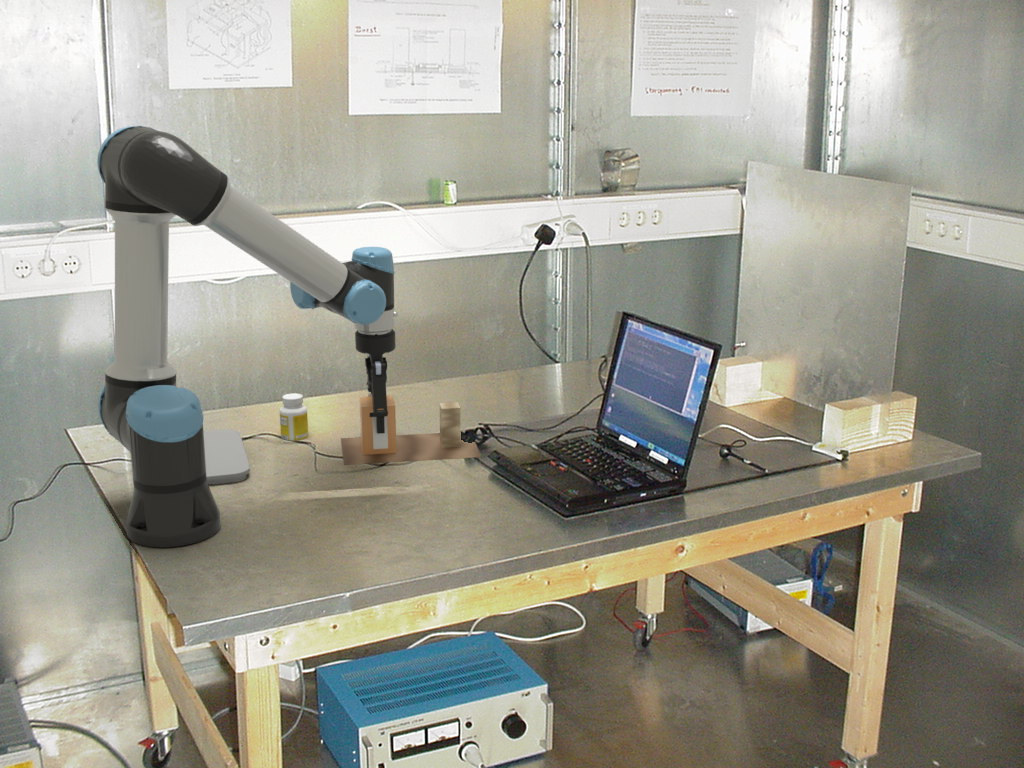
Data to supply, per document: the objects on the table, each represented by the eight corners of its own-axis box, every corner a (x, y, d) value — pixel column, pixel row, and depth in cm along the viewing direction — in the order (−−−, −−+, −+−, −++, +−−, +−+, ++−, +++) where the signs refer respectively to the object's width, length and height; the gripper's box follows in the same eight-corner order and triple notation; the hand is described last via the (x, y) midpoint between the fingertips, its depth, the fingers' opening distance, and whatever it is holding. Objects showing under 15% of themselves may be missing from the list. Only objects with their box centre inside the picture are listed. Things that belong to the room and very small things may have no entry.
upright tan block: (362, 454, 235) (361, 407, 232) (361, 443, 241) (359, 396, 238) (396, 452, 236) (395, 405, 233) (393, 441, 242) (392, 395, 239)
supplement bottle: (311, 438, 248) (309, 392, 245) (304, 448, 243) (302, 400, 240) (285, 437, 249) (283, 391, 246) (277, 447, 244) (275, 399, 241)
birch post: (442, 447, 239) (441, 408, 237) (440, 441, 242) (439, 403, 240) (460, 446, 240) (460, 407, 237) (458, 440, 243) (457, 402, 241)
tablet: (238, 438, 250) (238, 427, 249) (252, 483, 226) (251, 472, 225) (155, 446, 245) (154, 435, 244) (160, 493, 221) (159, 481, 221)
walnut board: (344, 472, 230) (343, 464, 230) (341, 445, 245) (340, 438, 244) (481, 464, 235) (481, 457, 234) (470, 438, 249) (470, 431, 248)
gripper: (400, 346, 221) (403, 457, 227) (389, 313, 244) (392, 415, 250) (358, 347, 219) (362, 459, 226) (351, 314, 243) (355, 416, 249)
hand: (378, 436), depth 238 cm, fingers open, 13 cm apart
